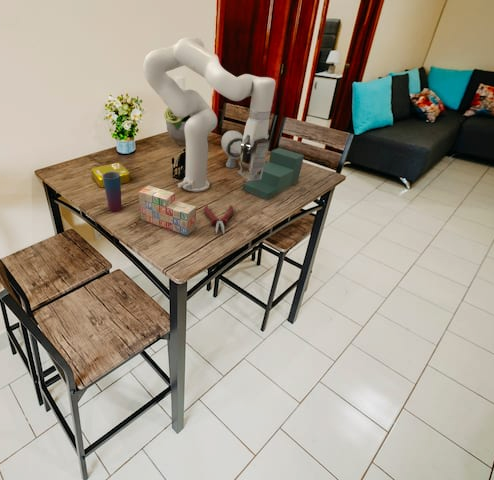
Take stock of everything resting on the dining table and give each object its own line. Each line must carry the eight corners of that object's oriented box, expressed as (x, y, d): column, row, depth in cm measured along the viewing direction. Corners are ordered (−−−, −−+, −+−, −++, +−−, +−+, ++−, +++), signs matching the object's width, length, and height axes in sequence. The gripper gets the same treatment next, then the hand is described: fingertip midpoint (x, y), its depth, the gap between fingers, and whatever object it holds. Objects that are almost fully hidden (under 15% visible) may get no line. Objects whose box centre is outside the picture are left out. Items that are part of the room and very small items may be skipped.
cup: (115, 203, 142) (111, 169, 133) (127, 208, 138) (123, 174, 130) (103, 209, 138) (98, 175, 129) (115, 214, 134) (110, 180, 125)
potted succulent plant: (185, 133, 215) (186, 92, 200) (214, 143, 199) (217, 100, 185) (155, 142, 202) (153, 99, 188) (182, 154, 186) (183, 108, 172)
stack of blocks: (195, 228, 125) (196, 199, 118) (187, 236, 121) (187, 206, 114) (149, 212, 135) (148, 184, 128) (140, 219, 131) (138, 191, 124)
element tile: (91, 176, 164) (90, 167, 161) (120, 170, 169) (119, 161, 167) (101, 188, 153) (99, 178, 150) (131, 181, 159) (130, 172, 156)
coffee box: (236, 172, 141) (242, 134, 131) (249, 170, 143) (256, 132, 134) (248, 181, 134) (256, 141, 125) (262, 179, 136) (270, 140, 127)
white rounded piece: (210, 172, 166) (212, 137, 156) (222, 158, 180) (225, 125, 170) (240, 177, 161) (244, 142, 150) (250, 162, 175) (255, 129, 165)
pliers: (204, 236, 121) (204, 230, 119) (204, 208, 137) (204, 203, 136) (236, 238, 120) (237, 232, 119) (232, 209, 136) (232, 204, 135)
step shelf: (266, 199, 143) (271, 171, 135) (242, 189, 151) (245, 162, 143) (298, 182, 156) (304, 155, 149) (273, 173, 164) (278, 147, 157)
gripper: (264, 108, 131) (257, 151, 141) (236, 116, 122) (230, 162, 132) (281, 112, 127) (272, 156, 137) (253, 121, 117) (246, 168, 127)
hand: (252, 159), depth 134 cm, fingers closed on coffee box, 7 cm apart
